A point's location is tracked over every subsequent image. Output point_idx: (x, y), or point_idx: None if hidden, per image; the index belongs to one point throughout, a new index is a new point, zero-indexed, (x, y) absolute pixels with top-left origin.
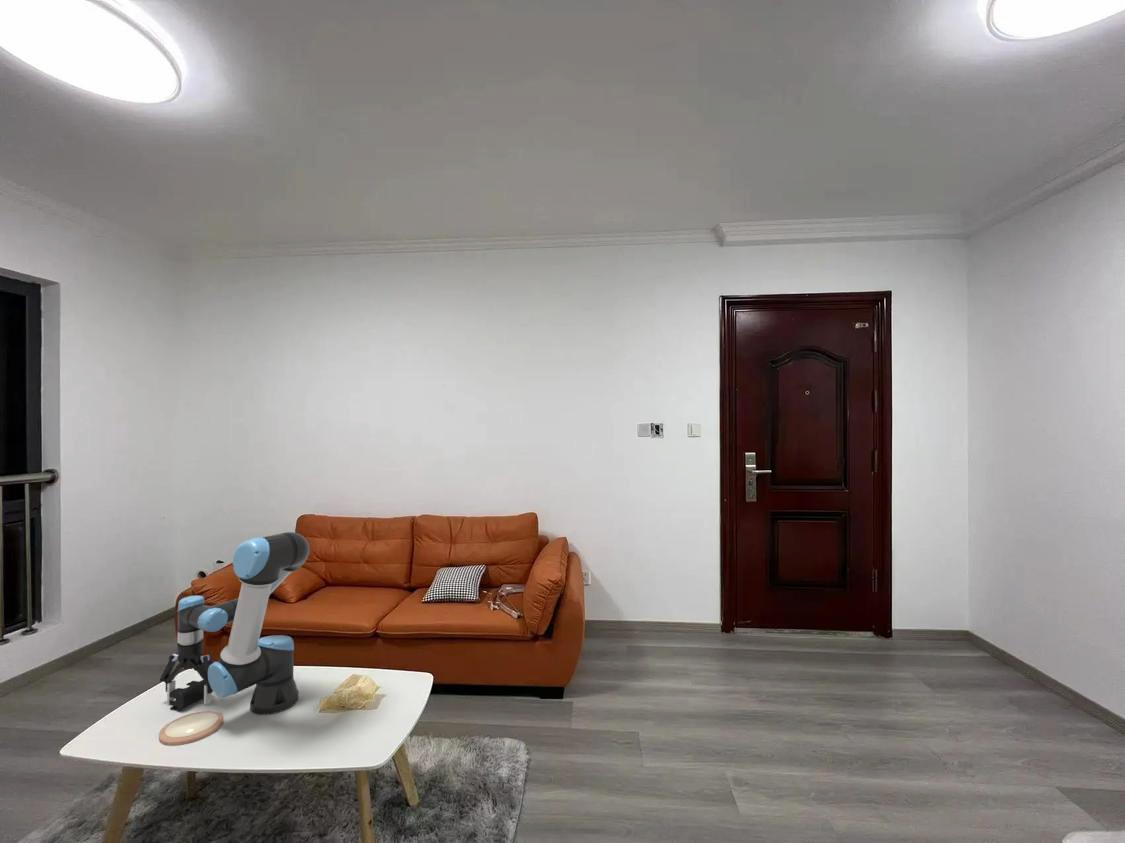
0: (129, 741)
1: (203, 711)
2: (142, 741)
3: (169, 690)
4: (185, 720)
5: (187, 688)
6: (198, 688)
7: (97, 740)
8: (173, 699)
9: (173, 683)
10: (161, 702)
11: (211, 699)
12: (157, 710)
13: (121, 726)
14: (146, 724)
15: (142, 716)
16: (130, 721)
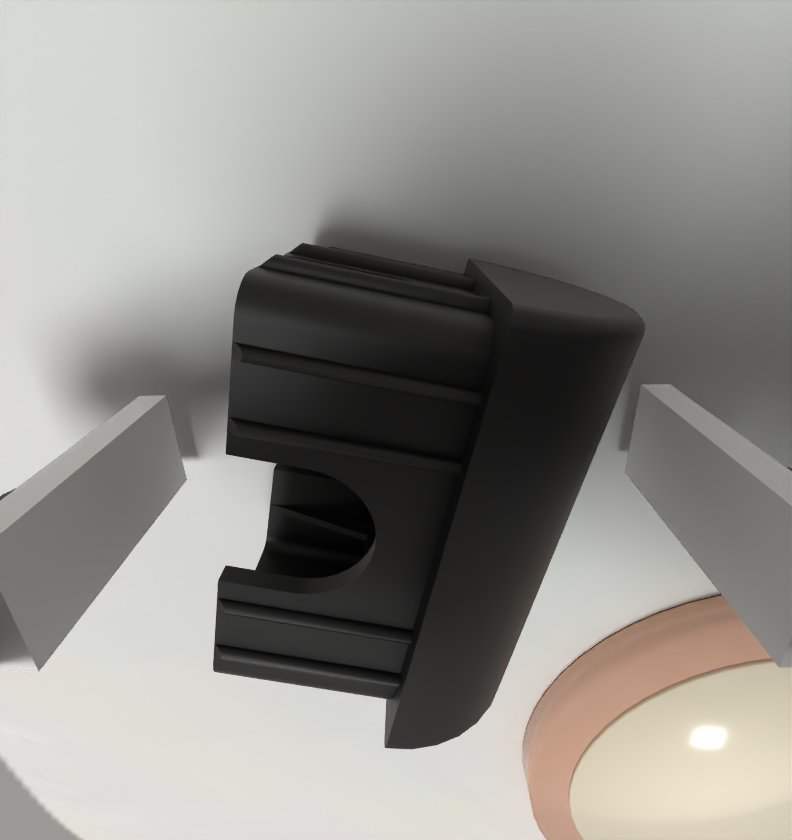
0: (383, 836)
1: (742, 635)
2: (468, 835)
3: (108, 577)
4: (661, 756)
5: (447, 654)
6: (561, 526)
7: (170, 833)
8: (170, 421)
9: (28, 563)
10: (41, 405)
11: (674, 389)
12: (176, 542)
13: (143, 731)
14: (306, 708)
15: (148, 626)
16: (133, 683)
